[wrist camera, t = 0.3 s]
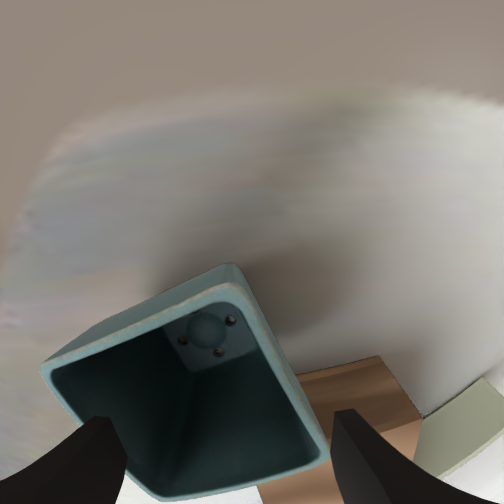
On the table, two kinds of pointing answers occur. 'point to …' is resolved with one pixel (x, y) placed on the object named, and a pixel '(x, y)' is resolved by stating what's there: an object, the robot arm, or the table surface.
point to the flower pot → (192, 391)
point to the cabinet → (341, 398)
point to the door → (460, 429)
